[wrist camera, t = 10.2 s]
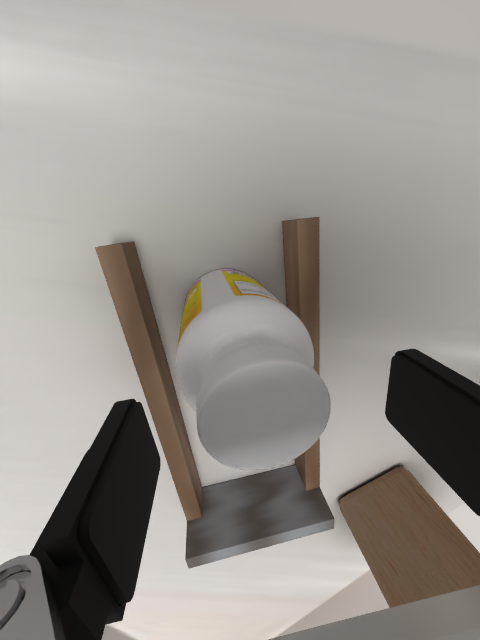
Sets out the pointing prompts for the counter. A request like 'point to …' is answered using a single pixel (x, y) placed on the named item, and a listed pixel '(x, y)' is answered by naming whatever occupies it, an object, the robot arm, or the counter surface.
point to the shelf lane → (152, 368)
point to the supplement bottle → (248, 373)
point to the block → (409, 540)
